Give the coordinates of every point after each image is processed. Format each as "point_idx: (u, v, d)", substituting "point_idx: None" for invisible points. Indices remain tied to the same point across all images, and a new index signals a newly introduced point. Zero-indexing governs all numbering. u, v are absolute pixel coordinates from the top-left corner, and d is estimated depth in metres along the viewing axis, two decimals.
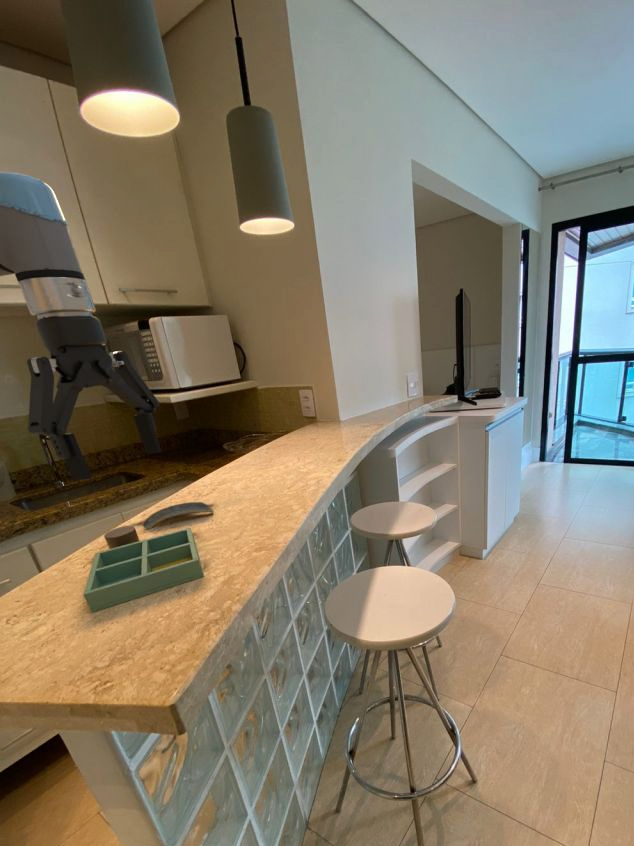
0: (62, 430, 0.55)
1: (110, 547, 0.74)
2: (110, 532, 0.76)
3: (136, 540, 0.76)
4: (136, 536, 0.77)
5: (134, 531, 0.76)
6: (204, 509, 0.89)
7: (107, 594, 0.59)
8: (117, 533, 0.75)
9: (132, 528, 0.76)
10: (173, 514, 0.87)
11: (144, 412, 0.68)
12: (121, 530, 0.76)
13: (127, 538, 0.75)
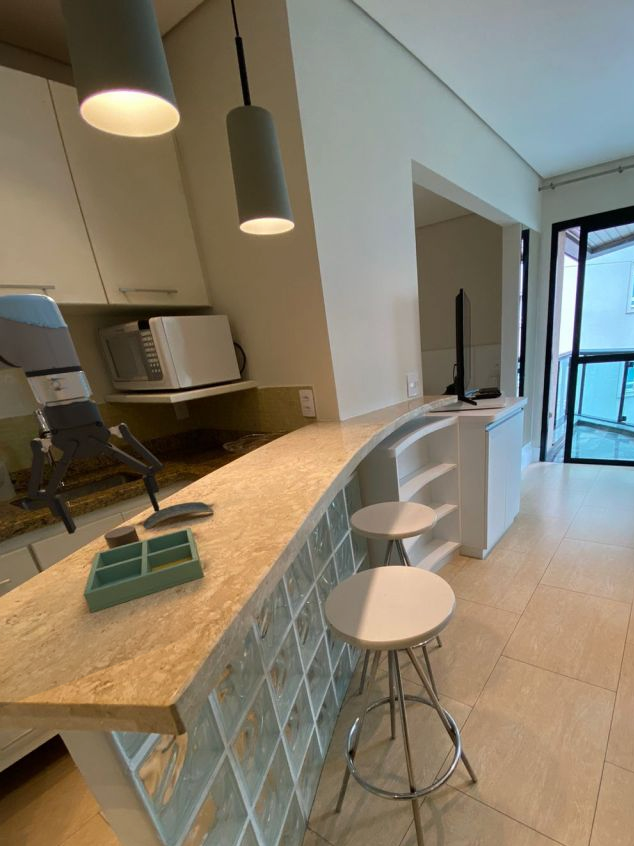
0: (47, 496, 0.68)
1: (110, 547, 0.74)
2: (110, 532, 0.76)
3: (136, 540, 0.76)
4: (136, 536, 0.77)
5: (134, 531, 0.76)
6: (204, 509, 0.89)
7: (107, 594, 0.59)
8: (117, 533, 0.75)
9: (132, 528, 0.76)
10: (173, 514, 0.87)
11: (146, 475, 0.74)
12: (121, 530, 0.76)
13: (127, 538, 0.75)
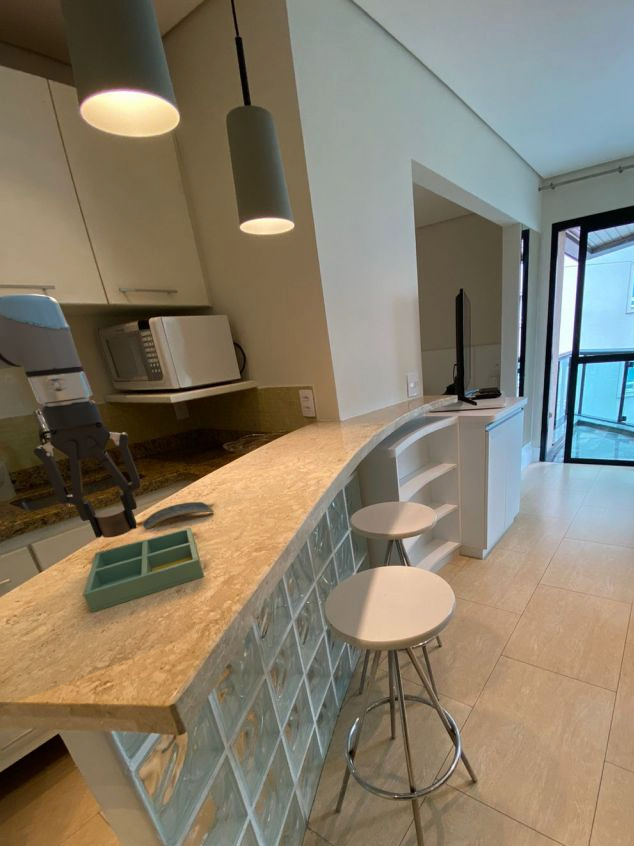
0: (77, 501, 0.70)
1: (100, 527, 0.73)
2: (100, 512, 0.74)
3: (127, 521, 0.75)
4: (127, 517, 0.75)
5: (125, 512, 0.75)
6: (204, 509, 0.89)
7: (107, 594, 0.59)
8: (108, 513, 0.73)
9: (123, 509, 0.75)
10: (173, 514, 0.87)
11: None
12: (112, 510, 0.74)
13: (118, 518, 0.73)
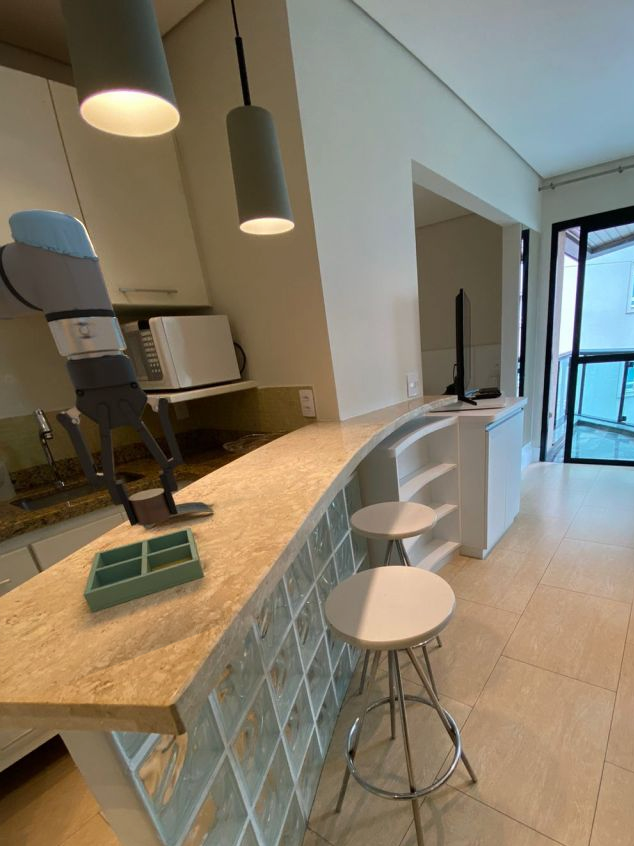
0: (109, 480, 0.57)
1: (136, 513, 0.60)
2: (135, 495, 0.61)
3: (167, 505, 0.62)
4: (167, 500, 0.62)
5: (164, 494, 0.62)
6: (204, 509, 0.89)
7: (107, 594, 0.59)
8: (144, 495, 0.61)
9: (162, 491, 0.62)
10: None
11: None
12: (148, 493, 0.62)
13: (157, 501, 0.60)
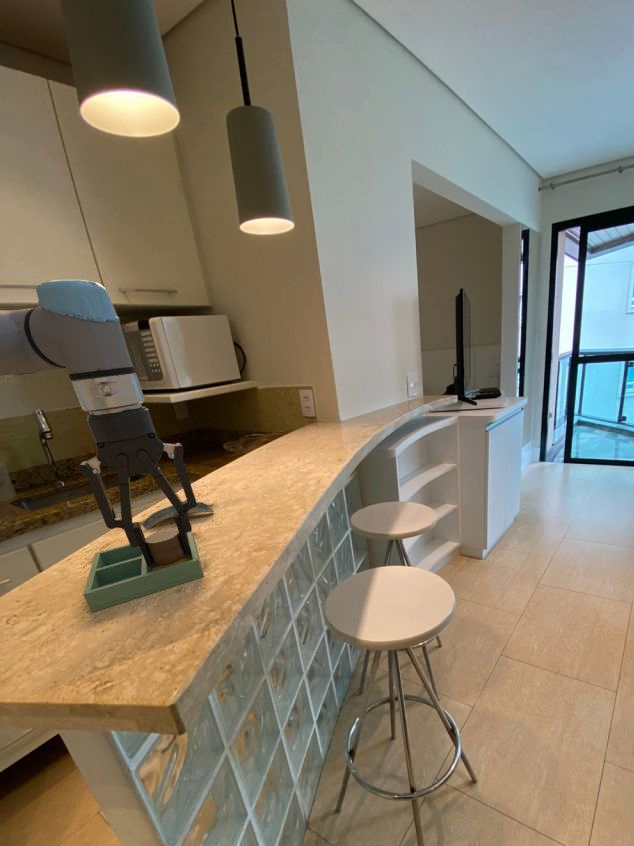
0: (127, 525, 0.60)
1: (152, 554, 0.63)
2: (151, 536, 0.64)
3: (181, 546, 0.64)
4: (181, 541, 0.65)
5: (179, 535, 0.64)
6: (204, 509, 0.89)
7: (107, 594, 0.59)
8: (160, 537, 0.63)
9: (176, 532, 0.64)
10: None
11: None
12: (164, 534, 0.64)
13: (172, 543, 0.63)
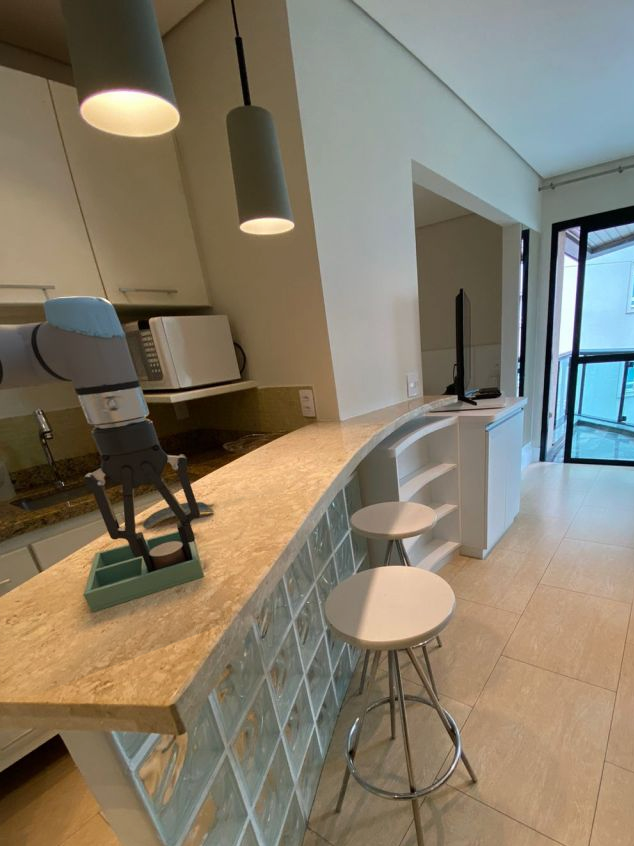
0: (130, 536, 0.60)
1: (156, 567, 0.63)
2: (155, 549, 0.65)
3: (185, 558, 0.65)
4: (185, 554, 0.66)
5: (183, 548, 0.65)
6: (204, 509, 0.89)
7: (107, 594, 0.59)
8: (164, 550, 0.64)
9: (180, 545, 0.65)
10: (173, 514, 0.87)
11: (180, 522, 0.64)
12: (168, 547, 0.65)
13: (176, 556, 0.64)
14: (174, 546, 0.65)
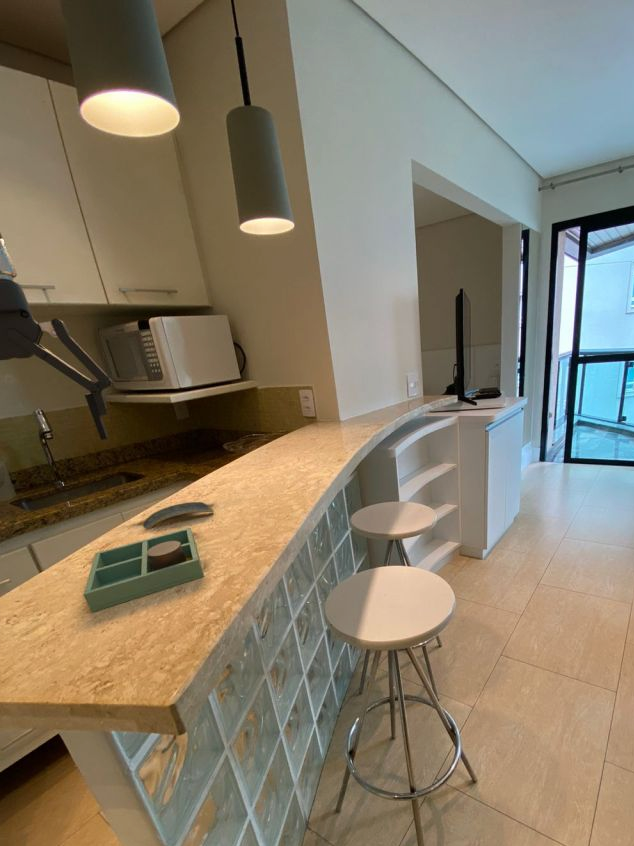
0: None
1: (154, 567, 0.64)
2: (153, 549, 0.65)
3: (183, 558, 0.66)
4: (182, 553, 0.66)
5: (180, 547, 0.65)
6: (204, 509, 0.89)
7: (107, 594, 0.59)
8: (161, 550, 0.64)
9: (178, 544, 0.65)
10: (173, 514, 0.87)
11: (90, 391, 0.59)
12: (165, 546, 0.65)
13: (173, 556, 0.64)
14: (172, 546, 0.65)
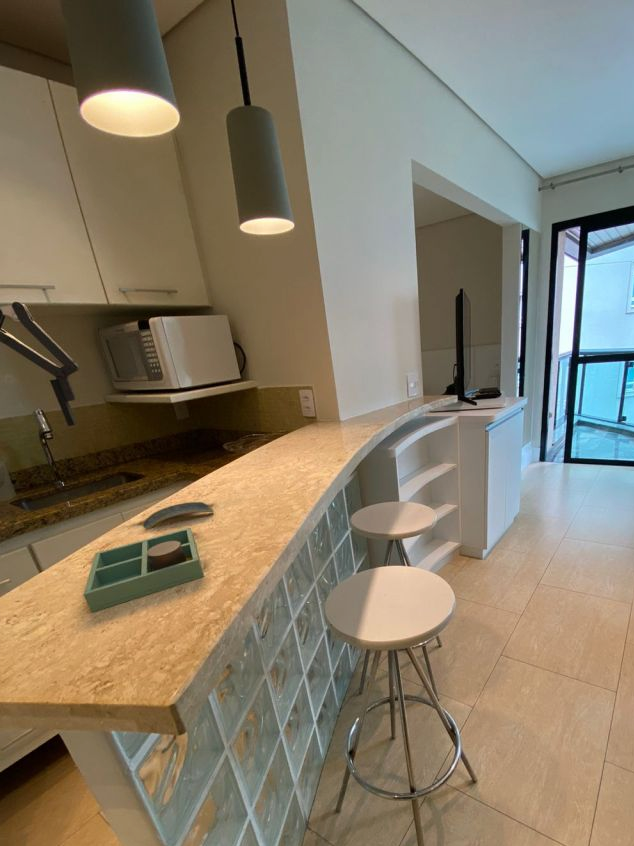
0: None
1: (154, 567, 0.64)
2: (153, 549, 0.65)
3: (183, 558, 0.66)
4: (182, 553, 0.66)
5: (180, 547, 0.65)
6: (204, 509, 0.89)
7: (107, 594, 0.59)
8: (161, 550, 0.64)
9: (178, 544, 0.65)
10: (173, 514, 0.87)
11: (56, 377, 0.58)
12: (165, 546, 0.65)
13: (173, 556, 0.64)
14: (172, 546, 0.65)
